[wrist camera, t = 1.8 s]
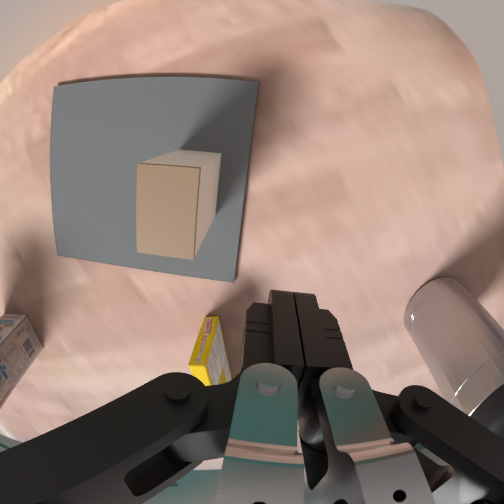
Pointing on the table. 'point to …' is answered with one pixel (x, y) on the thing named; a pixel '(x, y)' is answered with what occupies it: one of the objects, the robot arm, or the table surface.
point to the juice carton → (15, 351)
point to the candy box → (210, 354)
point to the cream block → (176, 202)
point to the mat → (139, 150)
